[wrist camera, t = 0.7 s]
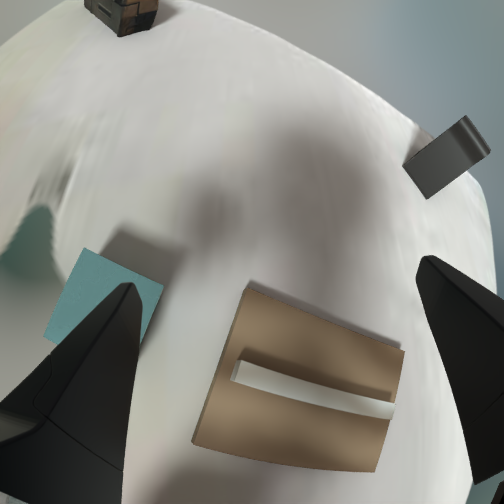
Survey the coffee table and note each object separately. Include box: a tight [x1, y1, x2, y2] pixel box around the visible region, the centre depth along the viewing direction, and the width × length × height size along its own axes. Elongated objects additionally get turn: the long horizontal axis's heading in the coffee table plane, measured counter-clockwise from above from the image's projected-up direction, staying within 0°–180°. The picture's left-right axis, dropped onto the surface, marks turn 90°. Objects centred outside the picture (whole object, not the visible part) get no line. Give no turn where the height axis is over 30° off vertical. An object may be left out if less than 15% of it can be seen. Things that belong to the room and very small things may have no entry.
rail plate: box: [191, 288, 405, 472], centre depth 24 cm, size 13×18×2 cm
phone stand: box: [403, 115, 491, 200], centre depth 37 cm, size 9×6×12 cm, turn 130°
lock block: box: [44, 248, 164, 345], centre depth 19 cm, size 6×6×4 cm
